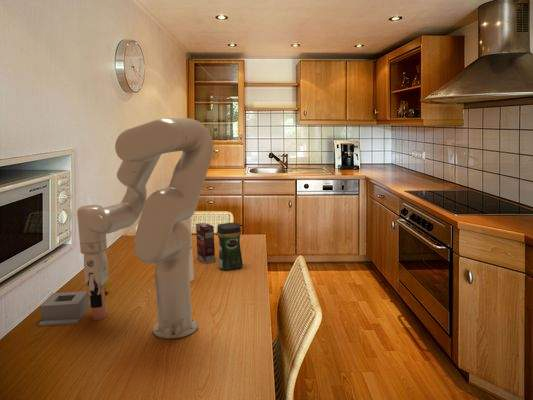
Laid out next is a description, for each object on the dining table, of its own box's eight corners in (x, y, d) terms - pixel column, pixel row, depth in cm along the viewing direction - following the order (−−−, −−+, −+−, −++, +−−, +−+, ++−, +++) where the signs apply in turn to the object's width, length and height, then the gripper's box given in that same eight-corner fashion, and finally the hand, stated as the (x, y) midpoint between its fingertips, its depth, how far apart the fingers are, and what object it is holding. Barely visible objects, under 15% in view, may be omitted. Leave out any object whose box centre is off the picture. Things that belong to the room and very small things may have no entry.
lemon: (104, 289, 167) (102, 268, 166) (113, 293, 164) (111, 271, 163) (90, 294, 163) (88, 272, 162) (99, 297, 160) (97, 275, 158)
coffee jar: (239, 263, 195) (237, 220, 192) (244, 268, 188) (243, 223, 185) (216, 266, 192) (214, 222, 189) (221, 271, 185) (219, 226, 182)
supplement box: (196, 259, 203) (195, 223, 201) (206, 257, 206) (205, 222, 203) (205, 263, 196) (203, 227, 193) (215, 261, 198) (214, 225, 196)
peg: (104, 319, 142) (101, 281, 140) (91, 320, 141) (87, 282, 139) (107, 314, 145) (104, 277, 144) (94, 314, 145) (91, 277, 143)
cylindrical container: (189, 283, 172) (186, 217, 168) (171, 282, 174) (167, 216, 170) (196, 277, 179) (193, 213, 175) (179, 276, 181) (175, 213, 177)
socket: (77, 323, 139) (75, 306, 138) (38, 326, 138) (37, 309, 137) (91, 303, 154) (89, 288, 154) (56, 305, 153) (55, 290, 152)
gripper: (99, 253, 132) (105, 314, 135) (112, 239, 148) (116, 293, 151) (72, 254, 131) (78, 316, 134) (87, 240, 147) (92, 295, 150)
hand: (98, 303), depth 143 cm, fingers closed on peg, 4 cm apart
